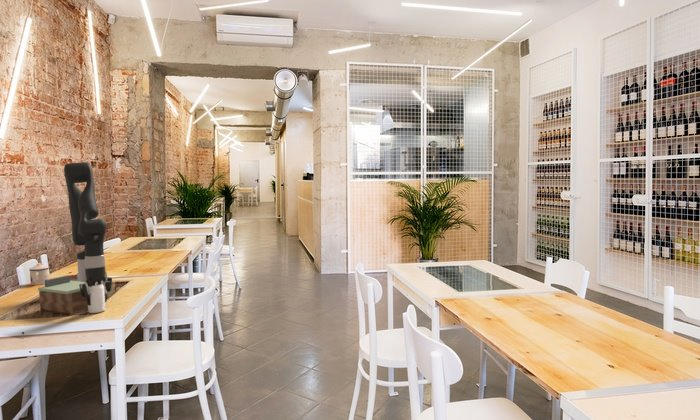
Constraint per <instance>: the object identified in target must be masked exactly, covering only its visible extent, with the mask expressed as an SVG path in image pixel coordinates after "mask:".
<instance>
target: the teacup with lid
mask: <svg viewBox="0 0 700 420" xmlns="http://www.w3.org/2000/svg"><path fill="white" fill-rule="evenodd" d="M29 278H30V285H31V286H41V284H42V285H45V280H47V279H50V273H49V266H47V265H44V264H42V263H41V262H37V263H36V265H33V267H30V268H29Z"/></svg>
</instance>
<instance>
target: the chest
mask: <svg viewBox="0 0 700 420" xmlns="http://www.w3.org/2000/svg"><path fill="white" fill-rule="evenodd" d="M38 292H39V293H38V294H39V308H40V309H39V310H40V312H46V313H53V314H58V315H64V316H73V315H76V314H80V313H83V312H88V304H87V298H86V297H82V294H81V291H79V292H75V293H71V294H62V293H54V292H46V291H38Z"/></svg>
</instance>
